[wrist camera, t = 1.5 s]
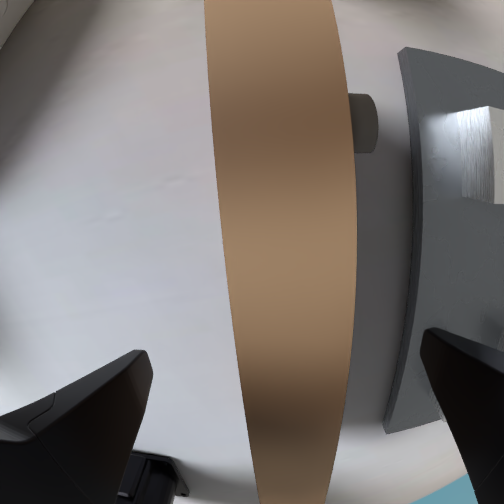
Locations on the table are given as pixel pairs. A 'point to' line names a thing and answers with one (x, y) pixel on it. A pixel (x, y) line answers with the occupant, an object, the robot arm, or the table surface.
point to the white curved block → (11, 16)
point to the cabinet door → (288, 227)
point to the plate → (450, 218)
